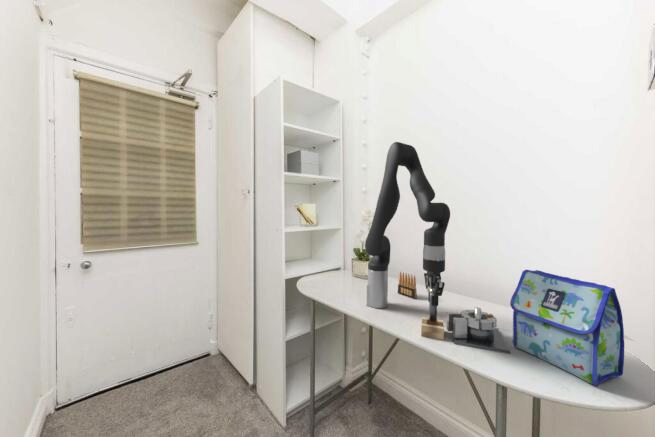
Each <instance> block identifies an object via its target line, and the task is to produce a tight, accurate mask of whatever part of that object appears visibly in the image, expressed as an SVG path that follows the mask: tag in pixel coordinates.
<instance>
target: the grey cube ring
mask: <svg viewBox="0 0 655 437" xmlns="http://www.w3.org/2000/svg"><path fill="white" fill-rule="evenodd" d="M497 320H498V319H497V317H495V316H494V314H492V313H488V312H485V311H482V310H481V320H479V319H475V309H463V310H462V311H460V312H458V311H456V312H455V311H454V312H453V311H447V312H446V330H447V331H448V332H452V331H453V333H452V337H453V336H454V337H455V338H467V326H469V327H472V328H475V329H481V330H492V329H495V328H497V323H498V322H497Z"/></svg>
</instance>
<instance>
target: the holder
mask: <svg viewBox="0 0 655 437" xmlns="http://www.w3.org/2000/svg"><path fill="white" fill-rule="evenodd" d="M420 325H421V331H420V332H421V333H420V334H421V335H420V336H421V337H423V338H429V339H435V340H441V341H444V340H445V339H444V338H445V326H444V320H443V319H438V318H437V322H431V321H430V320H429V317H422V316H421V324H420Z"/></svg>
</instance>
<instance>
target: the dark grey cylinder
mask: <svg viewBox="0 0 655 437" xmlns="http://www.w3.org/2000/svg"><path fill="white" fill-rule="evenodd" d="M429 292H430V300H429V301H428V303H429V305H428V306H429V308H428V310H429V311H428V312H429V313H428V318H429V320H430V321H431V322H437V319H438V306H432V290H431V289H430V291H429Z"/></svg>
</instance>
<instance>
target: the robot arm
mask: <svg viewBox="0 0 655 437" xmlns="http://www.w3.org/2000/svg"><path fill="white" fill-rule="evenodd" d="M399 166H401V167H405V168H406V169H407V171H408V172H409V175H410V178H409V188H410V190H411V192H412V194H413V196H414V198H415V199H416V205H417V211H418V216H419V217H420V219H421V220H422V221H423V222H425V223H432V226H431V227H429V228H427V229H425V230H424V231H423V250H422V269H423V271H426V272H425V273H424V274H423V277H424V284H425V289H426V290H427V293H428V299H427V300H428V302H429V300H430V292H429V291H430V289H431V290H432V306H437V307H438V306H439V297H442V295H443V292H444V288H445V285H446V284H445V282H444V281H442V277H441V275H442V274H441V273H444V272H445V270H446V248H445V247H446V246H445V245H446V243H445V242H446V241H445V240H446V239H445V238H446V236H445V235H446V231H447V230H448V225H449V222H450V218H451V210H450V207H449V205H448V204H447V203H445V202H432V201H434V199H435V197H436V192H435V190H434V188H433V187H432V185H431V183H430V182H429V180H428V178H427V176H426V174H425V172H424V170H423V167H422V163H421V161H420V158H419V154H418V152H417V150H416V148H415V147H414V145H410V144H407V143H403V142H400V141H395V142H393V143H392V144H391V145H390V146H389V149H388V151H387V155H386V160H385V166H384V173H383V178H382V181H381V182H382V183H381V186H380V191H379V195H378V197H377V201H376V205H375V211H374V213H373V214H374V215H373V218H372V220H371V221H372V222H371V225H370V228H369V231H368V233H367V236H366V238H365V241H364V242H365V244H364V248H365V252H366V253H367V255H370V256H371V259H370V261H369V262H368V263H367V264H368V265H367V285H366V306H369V307H370V308H374V309H385V308H387V307H388V293H389V292H388V291H389V290H388V288H389V287H388V285H389V283H388V281H389V280H388V279H389V277H388V276H389V274H388V273H389V265H390V261H391V242H390V239H389V238H388V236H386V235H385V232H386V229H387V227H388V225H389V224H390V223H391V221H392V220H393V218H394V216H395V215H396V212H397V210H398V206H399V203H400V199H401V193H400V189H399V184H398V177H397V176H398V175H397V174H398V169H399Z"/></svg>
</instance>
